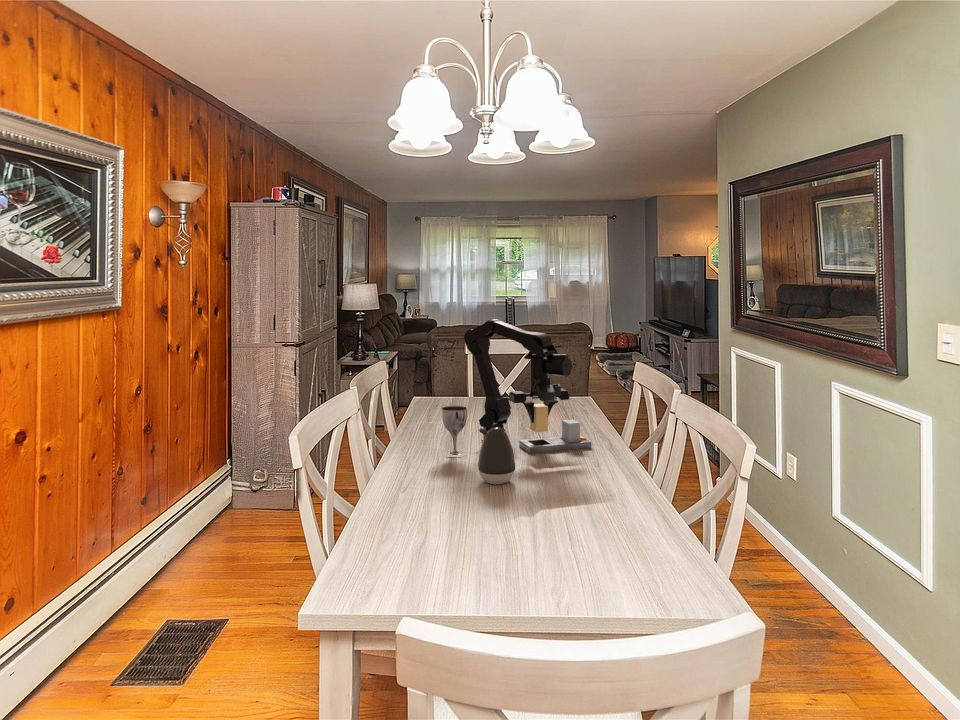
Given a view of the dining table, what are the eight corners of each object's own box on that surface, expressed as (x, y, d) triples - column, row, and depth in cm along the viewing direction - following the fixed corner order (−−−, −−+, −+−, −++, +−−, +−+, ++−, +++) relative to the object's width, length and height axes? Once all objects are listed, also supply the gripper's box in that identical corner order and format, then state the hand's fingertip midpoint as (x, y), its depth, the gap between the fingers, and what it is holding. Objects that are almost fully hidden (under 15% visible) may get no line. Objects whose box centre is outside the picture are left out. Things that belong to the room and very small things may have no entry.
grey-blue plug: (568, 448, 213) (568, 423, 212) (562, 444, 217) (562, 420, 216) (579, 447, 214) (580, 422, 213) (573, 443, 219) (573, 419, 218)
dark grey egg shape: (489, 474, 190) (488, 421, 188) (521, 479, 184) (521, 425, 182) (470, 483, 181) (470, 429, 179) (504, 489, 176) (504, 433, 174)
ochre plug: (535, 432, 209) (536, 407, 208) (530, 428, 214) (530, 404, 213) (547, 431, 210) (548, 406, 209) (541, 427, 215) (542, 403, 214)
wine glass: (455, 450, 216) (455, 404, 214) (472, 454, 210) (472, 407, 208) (437, 454, 210) (436, 408, 208) (454, 459, 204) (453, 411, 202)
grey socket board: (529, 456, 207) (529, 445, 206) (519, 449, 216) (519, 438, 215) (591, 451, 213) (591, 440, 212) (578, 443, 222) (578, 433, 221)
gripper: (520, 379, 199) (520, 430, 201) (577, 376, 204) (576, 425, 207) (508, 373, 210) (508, 422, 212) (562, 371, 215) (562, 418, 217)
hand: (538, 422), depth 212 cm, fingers closed on ochre plug, 4 cm apart
